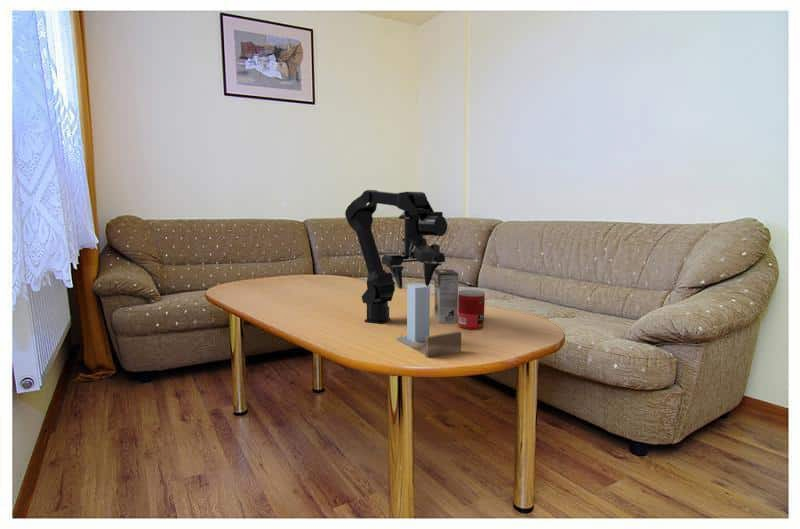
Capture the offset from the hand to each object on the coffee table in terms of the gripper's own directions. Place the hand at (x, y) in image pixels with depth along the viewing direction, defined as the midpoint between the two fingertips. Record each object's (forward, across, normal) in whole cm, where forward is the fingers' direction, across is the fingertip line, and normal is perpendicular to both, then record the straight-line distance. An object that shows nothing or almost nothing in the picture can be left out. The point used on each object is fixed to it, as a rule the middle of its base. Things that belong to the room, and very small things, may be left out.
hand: (414, 287), depth 140 cm
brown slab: (+13, -5, -19) cm, 24 cm away
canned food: (+13, +17, -5) cm, 22 cm away
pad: (+13, -5, -11) cm, 18 cm away
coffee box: (+13, +16, +6) cm, 21 cm away
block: (+13, -5, -11) cm, 17 cm away
